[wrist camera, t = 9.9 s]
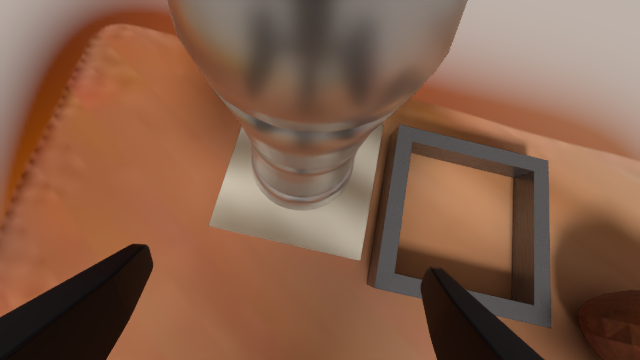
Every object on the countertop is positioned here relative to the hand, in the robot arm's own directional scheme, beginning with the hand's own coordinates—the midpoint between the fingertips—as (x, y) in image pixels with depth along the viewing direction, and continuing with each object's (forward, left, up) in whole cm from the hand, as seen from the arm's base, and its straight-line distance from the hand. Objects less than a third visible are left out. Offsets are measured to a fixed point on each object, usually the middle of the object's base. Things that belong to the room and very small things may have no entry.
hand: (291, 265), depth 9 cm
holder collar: (+13, -2, -12) cm, 17 cm away
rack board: (+3, +6, -12) cm, 13 cm away
